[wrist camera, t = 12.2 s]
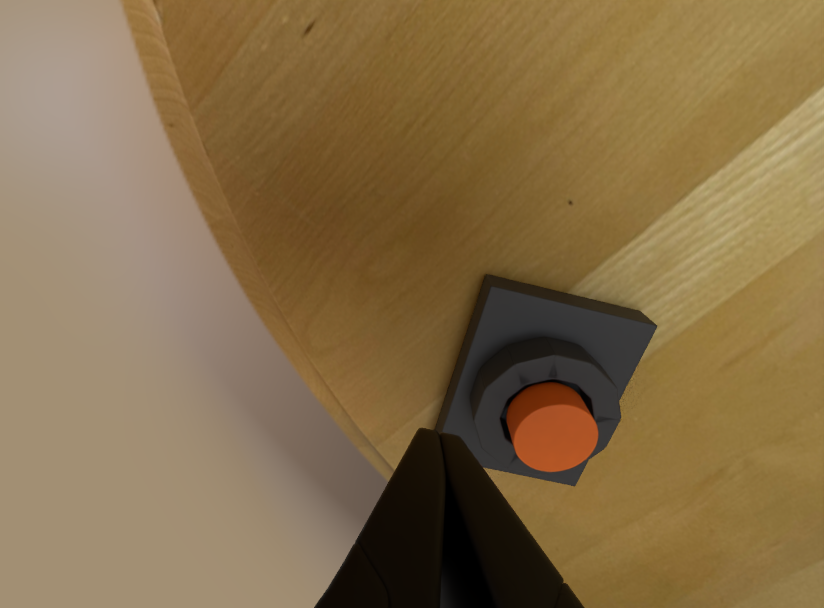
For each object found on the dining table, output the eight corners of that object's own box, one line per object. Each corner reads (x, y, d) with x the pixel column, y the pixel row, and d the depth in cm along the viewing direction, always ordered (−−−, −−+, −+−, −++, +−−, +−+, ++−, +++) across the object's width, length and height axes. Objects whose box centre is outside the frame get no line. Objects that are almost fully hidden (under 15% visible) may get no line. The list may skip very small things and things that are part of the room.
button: (495, 437, 21) (502, 463, 19) (521, 373, 19) (530, 396, 18) (567, 452, 21) (579, 479, 19) (597, 390, 20) (612, 415, 18)
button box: (432, 436, 25) (434, 483, 22) (485, 273, 21) (497, 301, 18) (565, 464, 25) (586, 514, 22) (641, 311, 22) (679, 344, 18)
